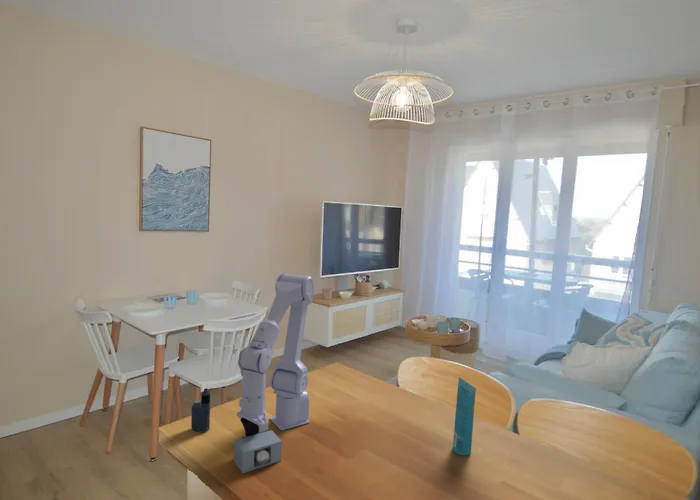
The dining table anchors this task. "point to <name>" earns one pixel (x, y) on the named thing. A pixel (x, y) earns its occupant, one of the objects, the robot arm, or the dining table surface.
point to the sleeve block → (253, 443)
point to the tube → (464, 418)
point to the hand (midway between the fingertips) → (251, 444)
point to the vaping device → (201, 413)
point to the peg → (261, 456)
